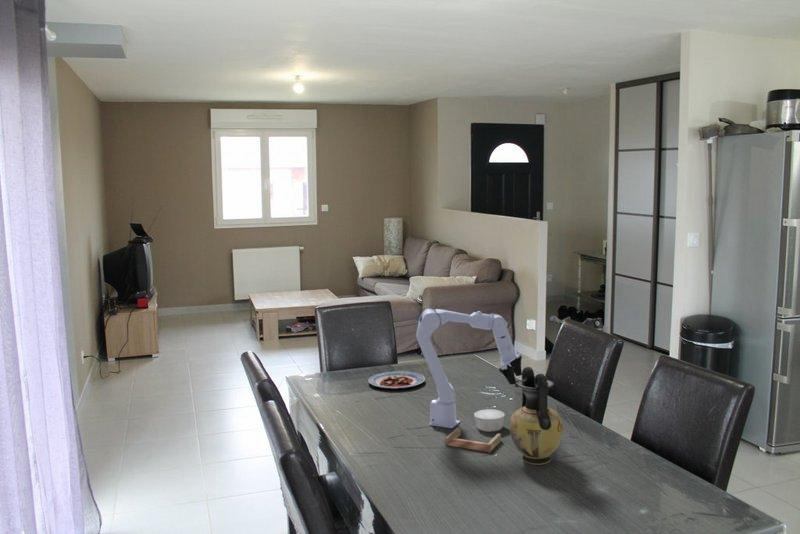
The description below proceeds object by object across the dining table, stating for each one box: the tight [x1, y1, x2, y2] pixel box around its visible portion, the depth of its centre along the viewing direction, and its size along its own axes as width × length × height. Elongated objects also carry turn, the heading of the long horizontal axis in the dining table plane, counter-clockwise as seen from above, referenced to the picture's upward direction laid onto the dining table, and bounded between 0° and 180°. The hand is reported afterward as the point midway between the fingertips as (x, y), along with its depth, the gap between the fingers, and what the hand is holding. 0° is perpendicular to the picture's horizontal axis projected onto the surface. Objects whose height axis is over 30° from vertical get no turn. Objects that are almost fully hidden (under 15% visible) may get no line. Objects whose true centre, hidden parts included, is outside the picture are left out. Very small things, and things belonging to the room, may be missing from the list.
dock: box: [444, 427, 502, 453], centre depth 242 cm, size 16×11×2 cm
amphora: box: [509, 366, 564, 466], centre depth 225 cm, size 18×17×30 cm
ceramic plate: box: [367, 370, 426, 390], centre depth 316 cm, size 26×26×3 cm
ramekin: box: [473, 408, 506, 433], centre depth 256 cm, size 11×11×5 cm
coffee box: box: [514, 379, 522, 412], centre depth 257 cm, size 9×6×16 cm
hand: (516, 379), depth 260 cm, fingers open, 7 cm apart
